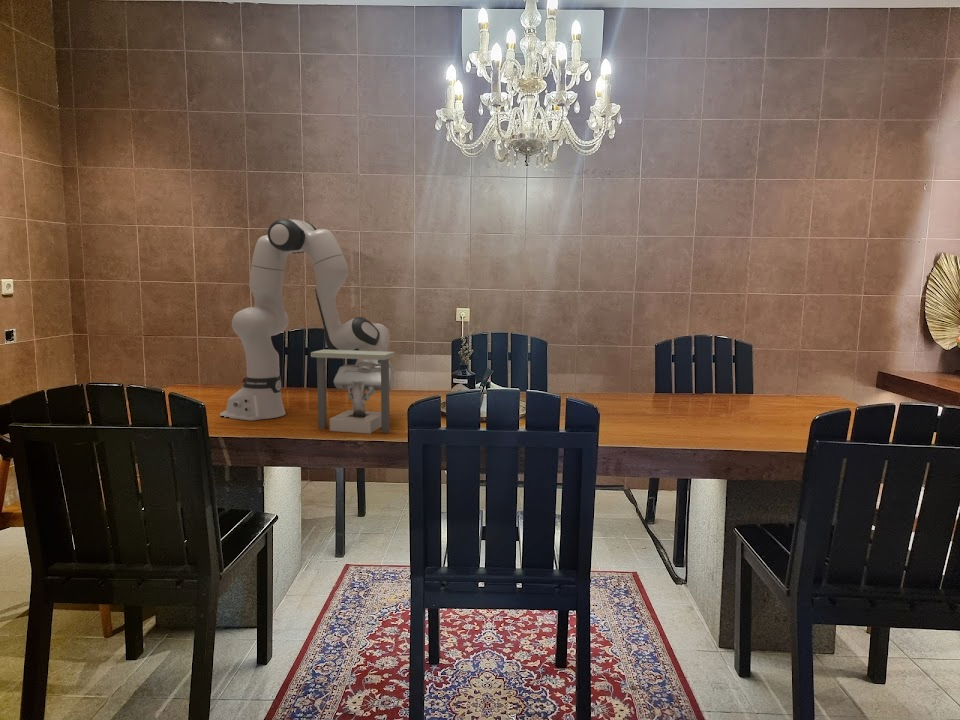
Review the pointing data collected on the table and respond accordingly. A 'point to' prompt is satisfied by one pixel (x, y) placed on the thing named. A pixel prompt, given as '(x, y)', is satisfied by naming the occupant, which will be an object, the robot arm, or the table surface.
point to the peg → (358, 399)
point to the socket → (356, 422)
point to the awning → (353, 355)
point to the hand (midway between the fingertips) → (357, 399)
